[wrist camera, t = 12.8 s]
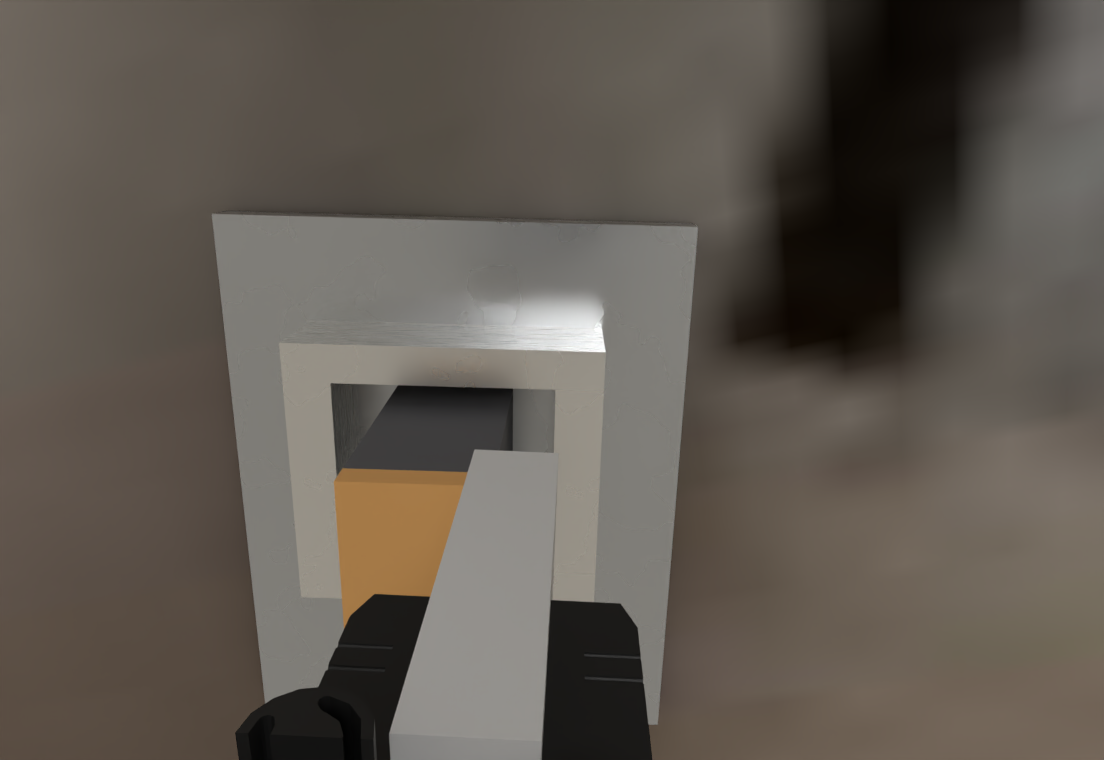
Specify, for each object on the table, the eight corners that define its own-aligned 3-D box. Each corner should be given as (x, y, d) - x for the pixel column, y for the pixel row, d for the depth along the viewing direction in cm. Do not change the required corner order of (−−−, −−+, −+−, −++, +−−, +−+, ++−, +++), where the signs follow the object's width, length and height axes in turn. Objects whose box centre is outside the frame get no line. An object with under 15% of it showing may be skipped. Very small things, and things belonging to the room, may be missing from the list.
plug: (399, 382, 27) (333, 481, 20) (513, 386, 27) (492, 486, 20) (404, 511, 29) (345, 648, 21) (512, 514, 29) (491, 653, 21)
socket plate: (224, 210, 26) (166, 224, 23) (693, 223, 26) (714, 239, 22) (274, 694, 33) (236, 769, 29) (654, 707, 32) (666, 783, 29)
